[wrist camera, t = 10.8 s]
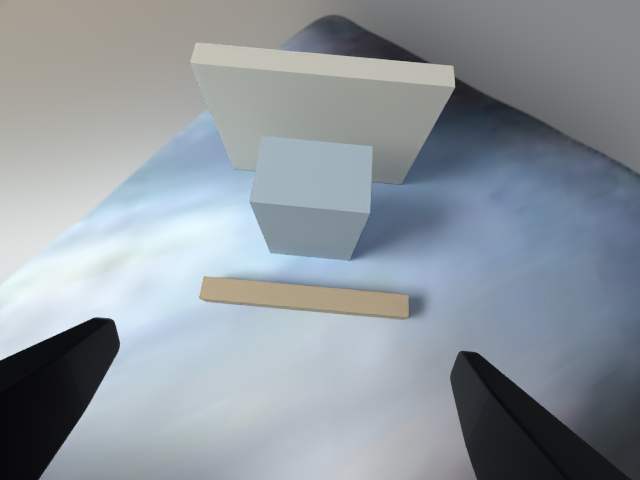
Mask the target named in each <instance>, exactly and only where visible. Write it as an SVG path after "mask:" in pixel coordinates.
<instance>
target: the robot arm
mask: <svg viewBox="0 0 640 480" xmlns="http://www.w3.org/2000/svg"><path fill="white" fill-rule="evenodd" d="M119 347H120V341H119V337H118V333H117V329H116V325H115V322H114V321H113V320H112V319H110V318H99V317H97V318H93V319H90V320H88V321H86V322H84V323H81V324H79V325H77V326H75V327H73V328H70V329H68V330H66V331H64V332H62V333H60V334H57V335H55V336H53V337H51V338H49V339H46V340H44V341H42V342H40V343H38V344H35V345H33V346H31V347H29V348H27V349H24V350H22V351H20V352H18V353H16V354H13V355H11V356H9V357H7V358H5V359H3V360H0V480H39V478H40V477H41V475H42V474H43V472H44V471H45V469H46V468H47V467H48V465H49V464H50V462H51V461H52V459H53V458H54V456H55V455H56V453H57V452H58V450H59V449H60V447H61V446H62V444H63V443H64V441H65V440H66V439H67V437H68V436H69V434H70V433H71V431H72V430H73V428H74V427H75V425H76V424H77V422H78V421H79V419H80V418H81V416H82V415H83V413H84V412H85V410H86V408H87V407H88V405H89V403H90V402H91V400H92V398H93V396H94V394H95V393H96V391H97V389H98V387H99V385H100V384H101V382H102V380H103V378H104V376H105V375H106V373H107V371H108V369H109V367H110V366H111V364H112V362H113V360H114V358H115V357H116V355H117V353H118V351H119ZM450 380H451V386H452V390H453V394H454V398H455V403H456V407H457V411H458V416H459V420H460V424H461V429H462V433H463V437H464V441H465V445H466V448H467V451H468V454H469V457H470V460H471V463H472V466H473V469H474V472H475V475H476V478H477V480H631V479H630V478H628V477H627V476H626V475H625V474H624V473H622V472H621V471H620V470H619V469H618V468H616V467H615V466H614V465H613V464H611V463H610V462H609V461H608V460H607V459H605V458H604V457H603V456H602V455H601V454H599V453H598V452H597V451H596V450H595V449H593V448H592V447H591V446H590V445H589V444H587V443H586V442H585V441H584V440H582V439H581V438H580V437H579V436H578V435H576V434H575V433H574V432H573V431H572V430H570V429H569V428H568V427H567V426H566V425H564V424H563V423H562V422H561V421H559V420H558V419H557V418H556V417H555V416H553V415H552V414H551V413H550V412H549V411H547V410H546V409H545V408H544V407H543V406H541V405H540V404H539V403H538V402H536V401H535V400H534V399H533V398H532V397H530V396H529V395H528V394H527V393H526V392H524V391H523V390H522V389H521V388H520V387H518V386H517V385H516V384H515V383H513V382H512V381H511V380H510V379H509V378H507V377H506V376H505V375H504V374H503V373H501V372H500V371H499V370H498V369H497V368H495V367H494V366H493V365H492V364H491V363H489V362H488V361H487V360H486V359H484V358H483V357H482V356H481V355H480V354H478V353H476V352H469V351H461V352H459V353H458V355H457V358H456V361H455V363H454V366H453V369H452V371H451V376H450Z"/></svg>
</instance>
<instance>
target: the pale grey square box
mask: <svg viewBox="0 0 640 480" xmlns="http://www.w3.org/2000/svg"><path fill="white" fill-rule="evenodd" d="M372 152H373V146H364V145H353V144H343V143H332V142H322V141H312V140H301V139H291V138H280V137H270V136H262V139H261V145H260V150H259V155H258V160H257V166H256V171H255V176H254V181H253V187H252V192H251V197H250V204H251V206H252V209H253V211H254V214H255V216H256V219H257V221H258V224H259V226H260V229H261V231H262V234H263V236H264V238H265V241H266V243H267V246H268V248H269V251H270V253H274V254H285V255H295V256H306V257H316V258H326V259H337V260H347V261H349V260H350V258H351V256H352V253H353V251H354V249H355V246H356V244H357V242H358V240H359V237H360V235H361V233H362V231H363V228H364V226H365V224H366V222H367V219H368V217H369V215H370V205H371V178H372Z"/></svg>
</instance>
